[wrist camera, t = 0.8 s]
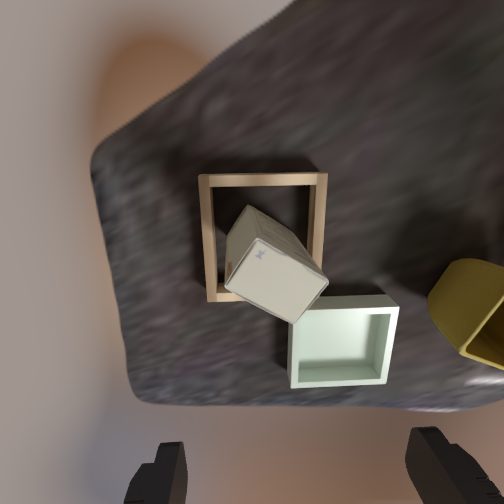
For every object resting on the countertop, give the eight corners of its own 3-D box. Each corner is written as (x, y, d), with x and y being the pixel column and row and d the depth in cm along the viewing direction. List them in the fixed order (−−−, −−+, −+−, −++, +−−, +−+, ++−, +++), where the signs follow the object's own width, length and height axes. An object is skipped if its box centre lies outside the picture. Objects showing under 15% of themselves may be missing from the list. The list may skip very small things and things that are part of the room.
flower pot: (461, 327, 36) (530, 381, 27) (404, 305, 34) (458, 354, 26) (506, 267, 33) (598, 306, 25) (446, 240, 32) (522, 272, 23)
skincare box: (225, 236, 31) (217, 286, 19) (247, 202, 30) (252, 233, 18) (274, 265, 32) (294, 329, 20) (297, 234, 31) (332, 282, 19)
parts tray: (386, 294, 34) (399, 306, 31) (375, 366, 37) (385, 383, 35) (289, 297, 33) (293, 310, 31) (287, 370, 37) (291, 388, 34)
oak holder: (320, 171, 29) (327, 173, 26) (313, 287, 33) (319, 298, 31) (201, 174, 28) (197, 176, 26) (209, 291, 33) (207, 302, 30)
